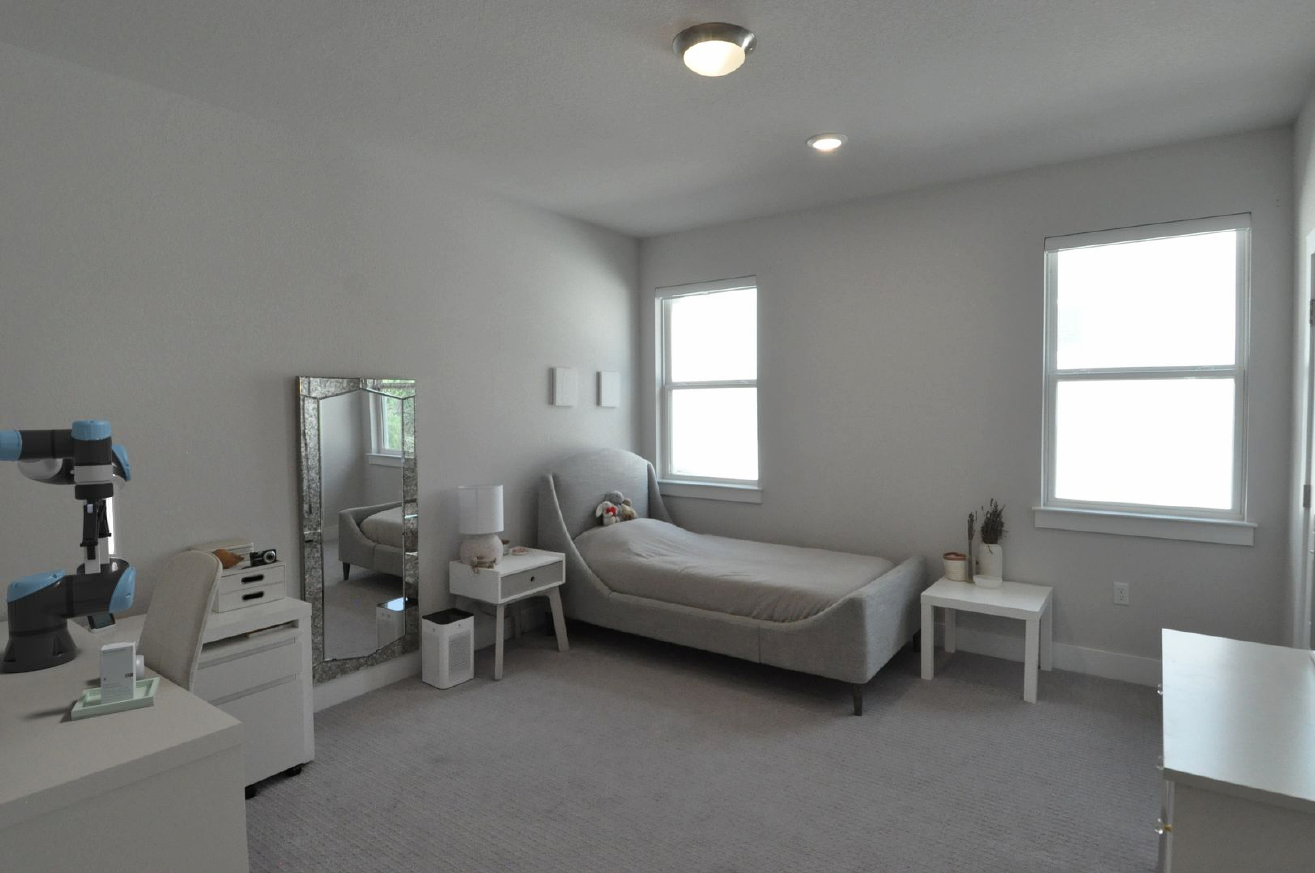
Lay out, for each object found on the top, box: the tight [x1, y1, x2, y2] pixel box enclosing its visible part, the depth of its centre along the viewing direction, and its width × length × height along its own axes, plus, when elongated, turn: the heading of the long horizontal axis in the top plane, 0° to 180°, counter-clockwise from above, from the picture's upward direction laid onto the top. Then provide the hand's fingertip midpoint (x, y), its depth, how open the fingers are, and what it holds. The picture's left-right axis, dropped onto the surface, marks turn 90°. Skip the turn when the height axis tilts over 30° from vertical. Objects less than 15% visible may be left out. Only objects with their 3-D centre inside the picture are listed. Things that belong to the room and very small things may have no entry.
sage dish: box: [70, 676, 161, 722], centre depth 156 cm, size 14×14×2 cm
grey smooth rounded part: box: [136, 654, 146, 681], centre depth 168 cm, size 5×5×6 cm
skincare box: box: [99, 640, 137, 704], centre depth 156 cm, size 6×4×12 cm
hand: (97, 568), depth 173 cm, fingers open, 13 cm apart
